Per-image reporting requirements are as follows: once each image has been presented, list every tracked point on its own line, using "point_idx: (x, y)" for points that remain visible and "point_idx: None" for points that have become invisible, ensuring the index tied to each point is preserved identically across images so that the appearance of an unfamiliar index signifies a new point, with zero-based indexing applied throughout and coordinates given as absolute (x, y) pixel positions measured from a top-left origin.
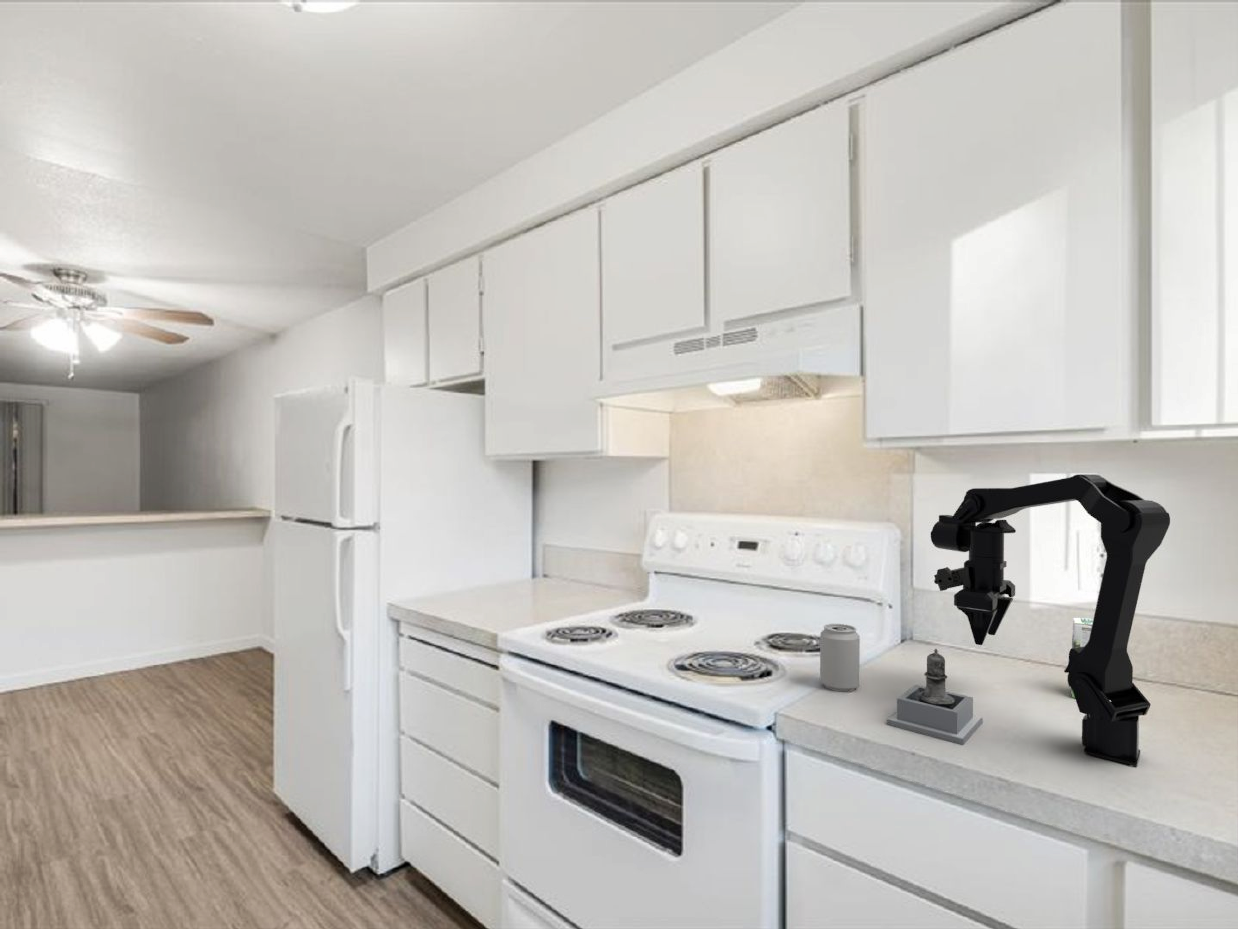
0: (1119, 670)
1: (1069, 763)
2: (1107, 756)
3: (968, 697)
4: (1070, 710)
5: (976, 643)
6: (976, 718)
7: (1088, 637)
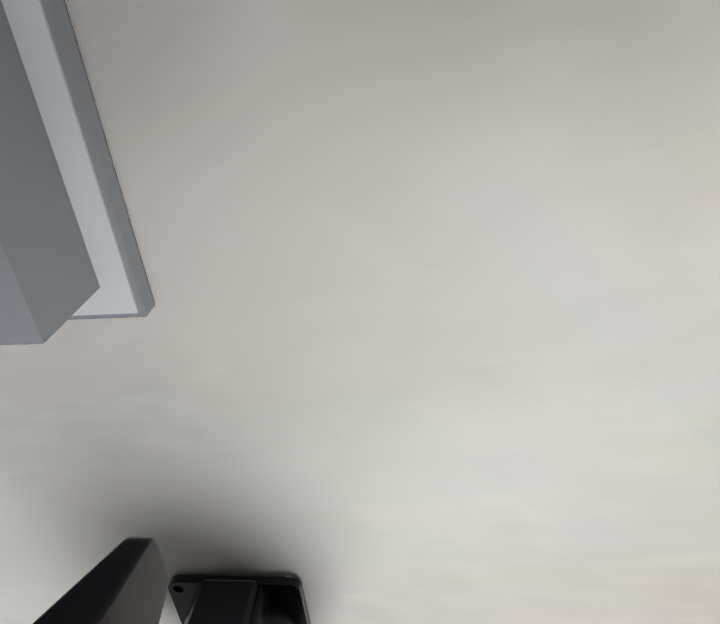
0: None
1: (68, 553)
2: (181, 620)
3: (15, 327)
4: (620, 508)
5: (126, 550)
6: (103, 302)
7: None
